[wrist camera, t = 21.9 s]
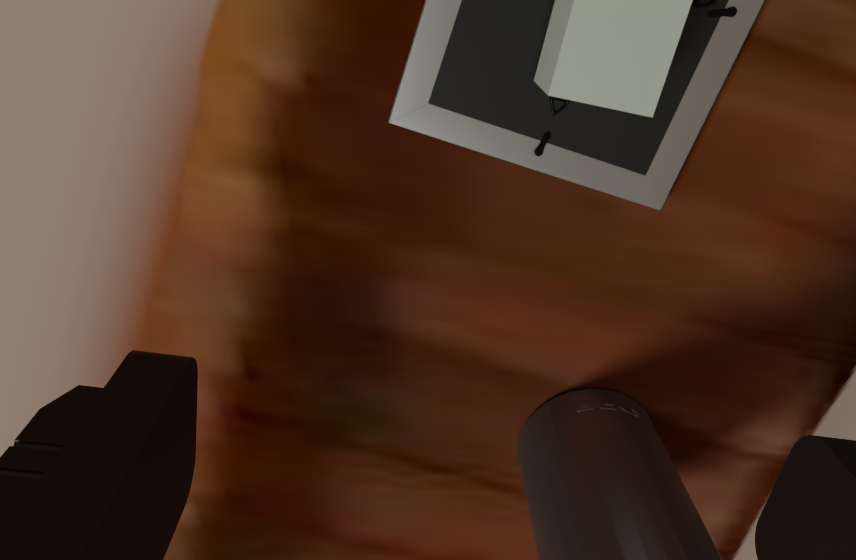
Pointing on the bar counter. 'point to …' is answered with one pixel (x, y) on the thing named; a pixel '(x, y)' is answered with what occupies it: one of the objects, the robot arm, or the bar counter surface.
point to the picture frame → (555, 117)
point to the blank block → (611, 51)
